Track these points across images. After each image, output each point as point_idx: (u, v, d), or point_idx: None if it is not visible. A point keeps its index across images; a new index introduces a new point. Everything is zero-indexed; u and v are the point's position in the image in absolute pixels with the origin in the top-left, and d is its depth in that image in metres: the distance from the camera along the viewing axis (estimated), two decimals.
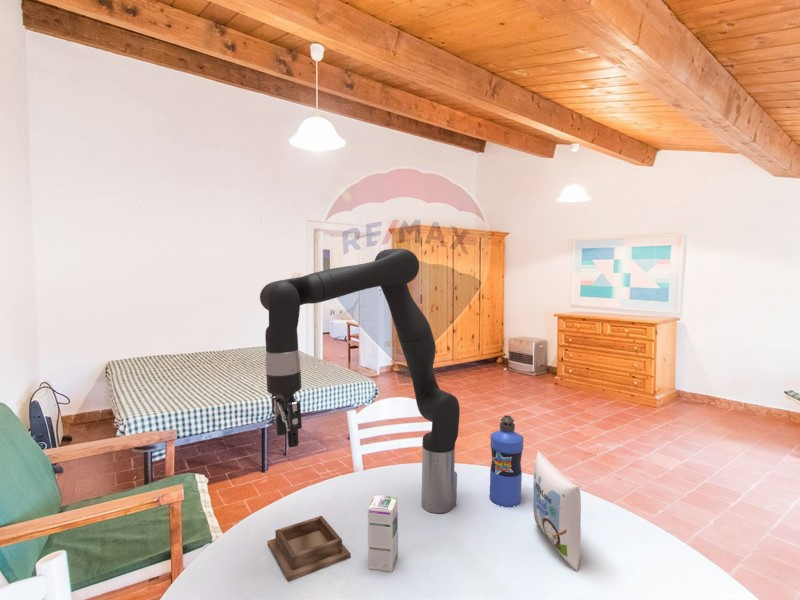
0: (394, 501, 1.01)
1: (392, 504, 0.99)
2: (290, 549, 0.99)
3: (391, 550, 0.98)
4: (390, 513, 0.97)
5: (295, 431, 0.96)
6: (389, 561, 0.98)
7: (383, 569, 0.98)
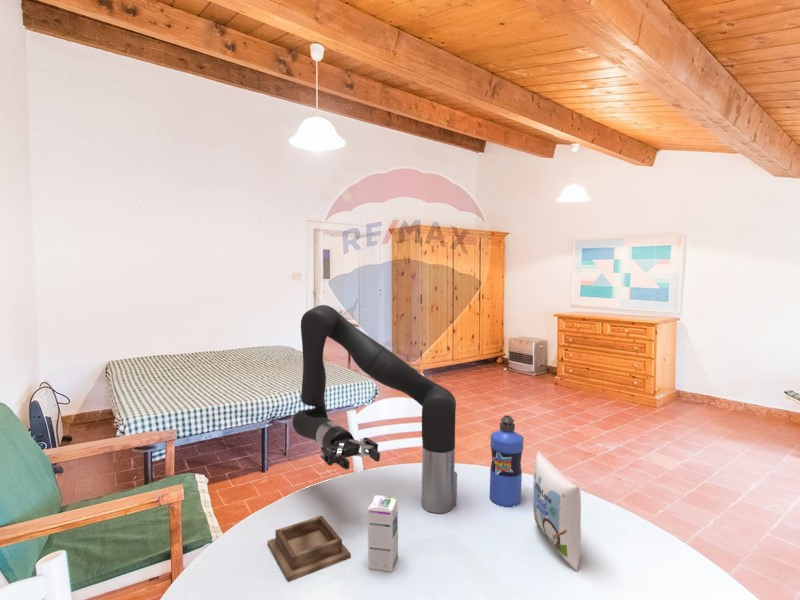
0: (394, 501, 1.01)
1: (392, 504, 0.99)
2: (290, 549, 0.99)
3: (391, 550, 0.98)
4: (390, 513, 0.97)
5: (337, 459, 1.08)
6: (389, 561, 0.98)
7: (383, 569, 0.98)
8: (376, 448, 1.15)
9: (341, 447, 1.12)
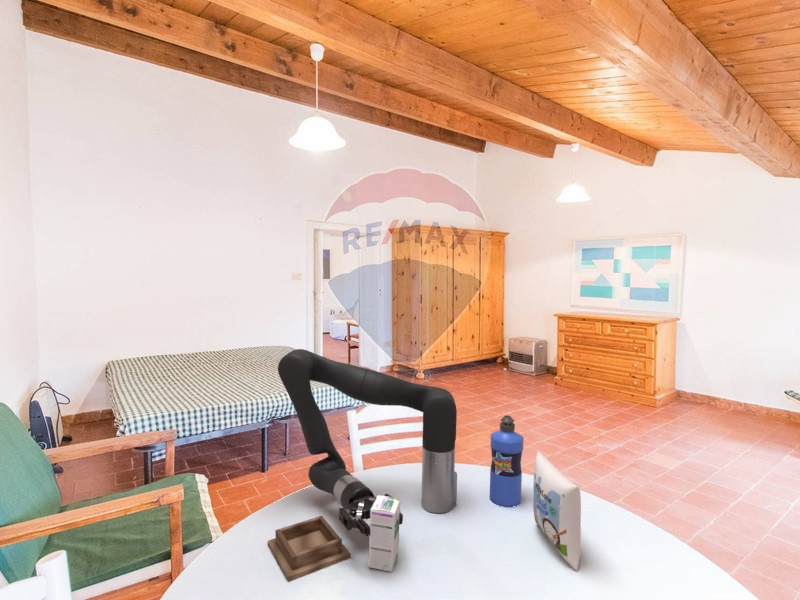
0: (397, 503, 1.00)
1: (395, 506, 0.98)
2: (290, 549, 0.99)
3: (392, 551, 0.97)
4: (393, 516, 0.96)
5: (356, 524, 1.00)
6: (390, 562, 0.98)
7: (383, 569, 0.98)
8: None
9: (361, 508, 1.04)
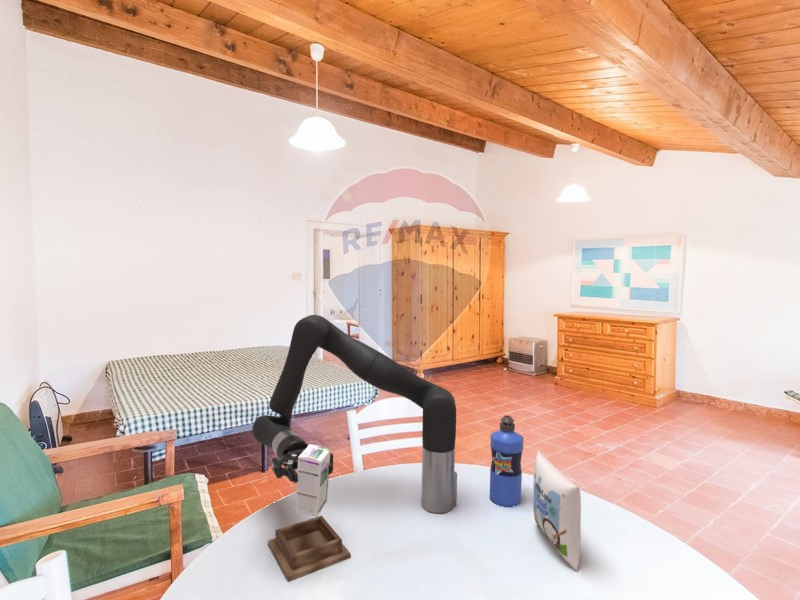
0: (326, 452, 1.02)
1: (323, 455, 1.00)
2: (290, 549, 0.99)
3: (317, 497, 1.00)
4: (319, 464, 0.98)
5: (286, 472, 1.02)
6: (315, 507, 1.00)
7: (309, 513, 1.01)
8: (331, 459, 1.09)
9: (293, 458, 1.06)
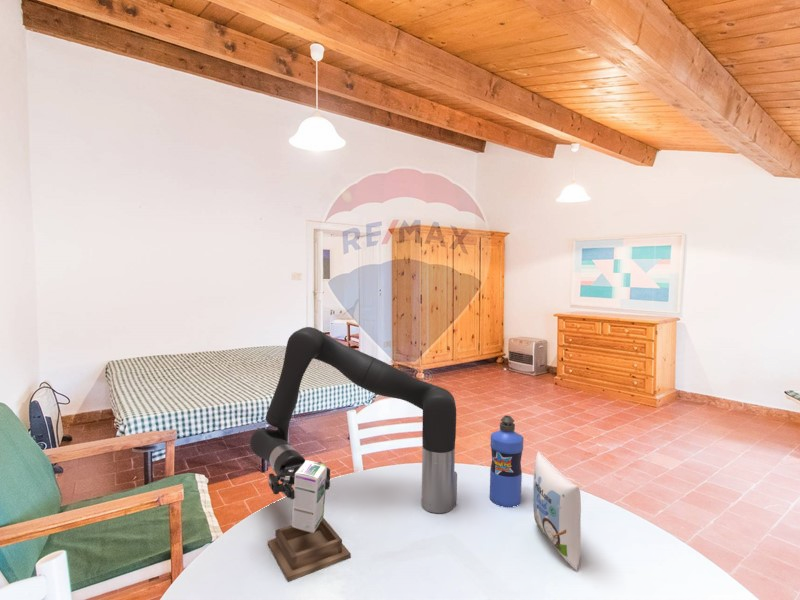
0: (323, 468, 1.02)
1: (320, 472, 1.01)
2: (290, 549, 0.99)
3: (314, 514, 1.00)
4: (315, 481, 0.99)
5: (283, 488, 1.02)
6: (312, 524, 1.01)
7: (305, 529, 1.02)
8: (328, 474, 1.09)
9: (290, 474, 1.06)
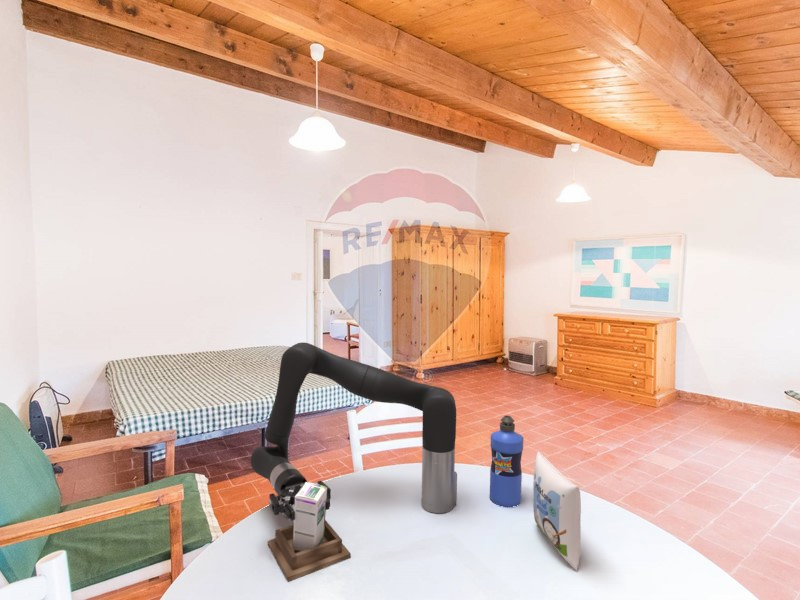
0: (323, 490, 1.03)
1: (320, 494, 1.01)
2: (290, 549, 0.99)
3: (314, 536, 1.01)
4: (316, 503, 0.99)
5: (283, 509, 1.03)
6: (312, 546, 1.01)
7: None
8: (328, 494, 1.10)
9: (290, 494, 1.07)
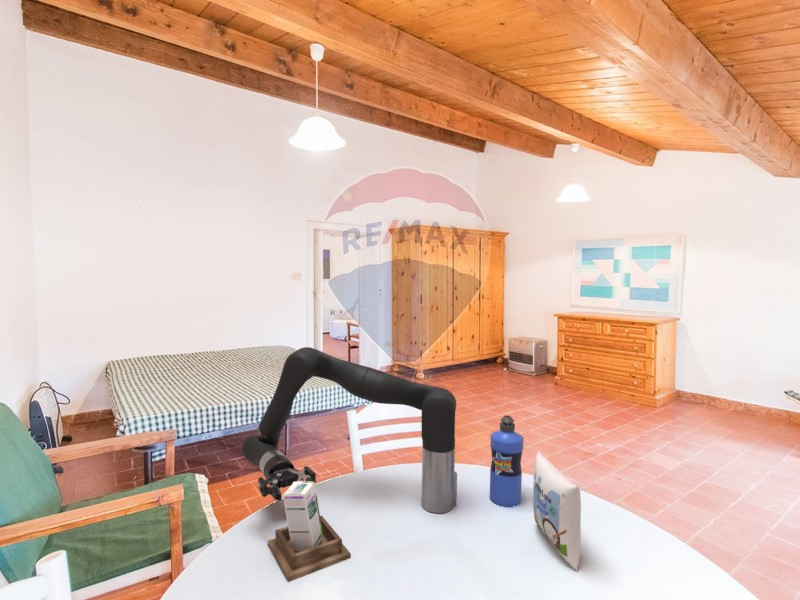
0: (310, 485, 1.04)
1: (307, 488, 1.03)
2: (290, 549, 0.99)
3: (310, 531, 1.02)
4: (303, 497, 1.01)
5: (271, 491, 1.10)
6: (310, 542, 1.02)
7: None
8: (314, 478, 1.18)
9: (277, 477, 1.14)
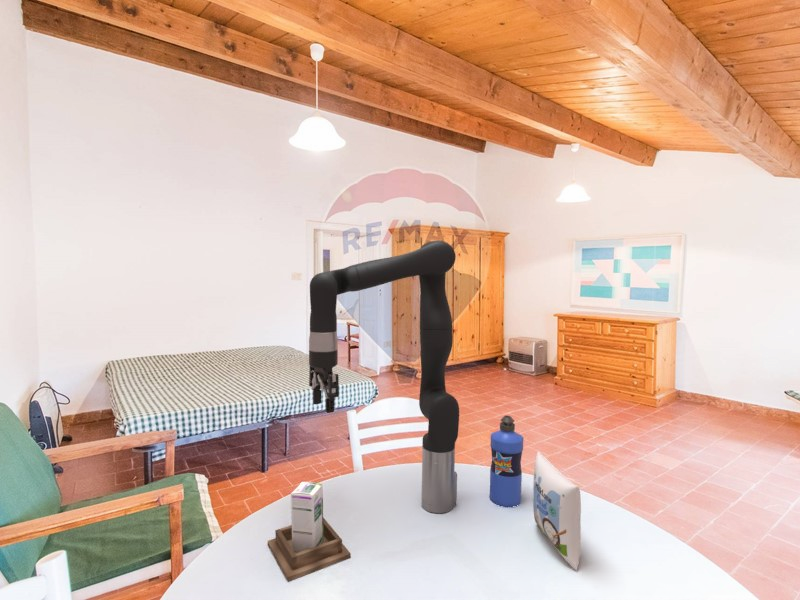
0: (318, 487, 1.05)
1: (315, 490, 1.03)
2: (290, 549, 0.99)
3: (313, 533, 1.02)
4: (311, 498, 1.01)
5: (332, 399, 1.13)
6: (311, 544, 1.02)
7: None
8: None
9: None
